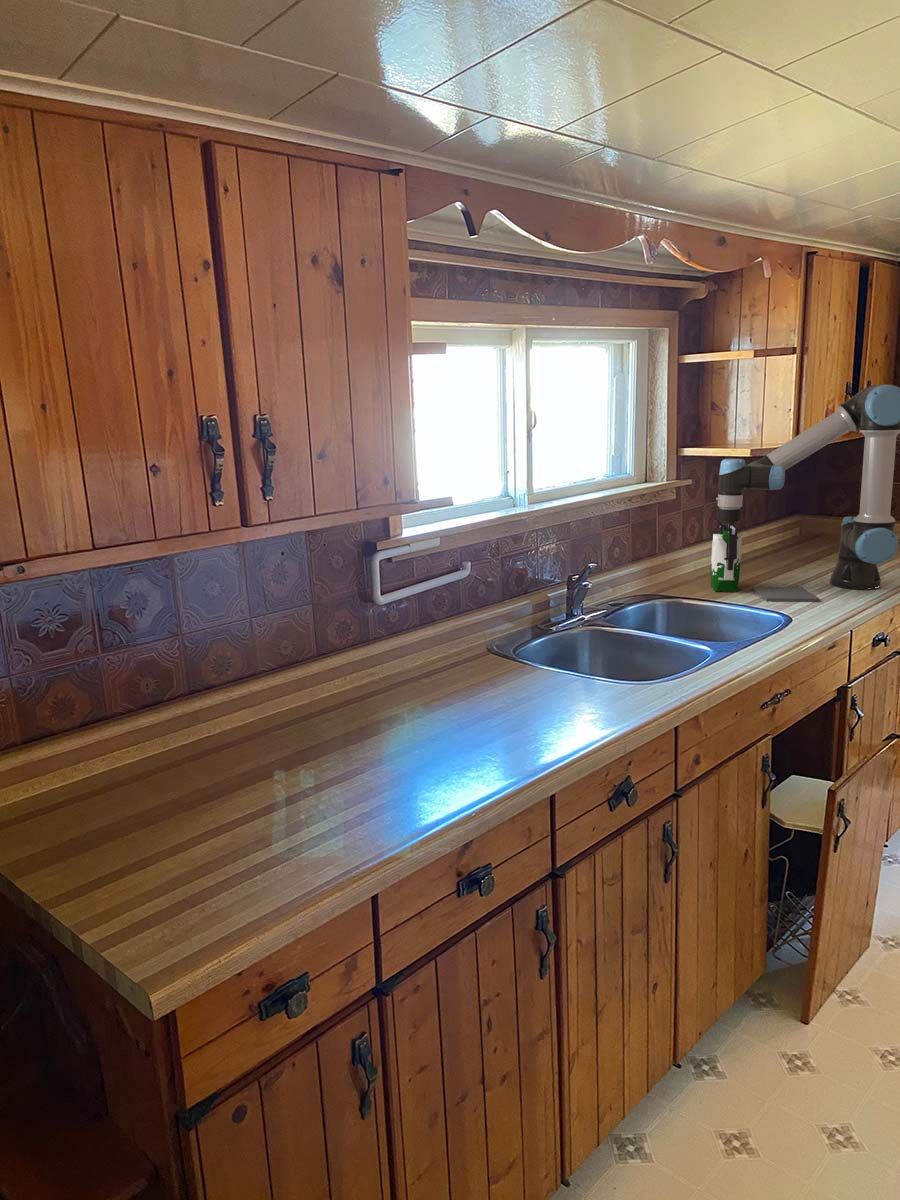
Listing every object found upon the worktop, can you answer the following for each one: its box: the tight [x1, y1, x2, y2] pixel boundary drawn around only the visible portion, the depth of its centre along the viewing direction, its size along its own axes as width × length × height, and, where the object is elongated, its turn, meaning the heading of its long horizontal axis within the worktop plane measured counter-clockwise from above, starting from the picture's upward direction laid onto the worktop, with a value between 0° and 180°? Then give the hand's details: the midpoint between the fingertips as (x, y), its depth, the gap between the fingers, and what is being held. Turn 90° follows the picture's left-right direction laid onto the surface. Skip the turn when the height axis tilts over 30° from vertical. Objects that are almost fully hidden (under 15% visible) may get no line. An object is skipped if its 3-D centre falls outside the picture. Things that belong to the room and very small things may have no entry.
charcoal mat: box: [751, 586, 821, 603], centre depth 266 cm, size 16×16×1 cm
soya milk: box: [710, 530, 743, 593], centre depth 272 cm, size 9×9×20 cm
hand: (724, 576), depth 274 cm, fingers closed on soya milk, 9 cm apart
